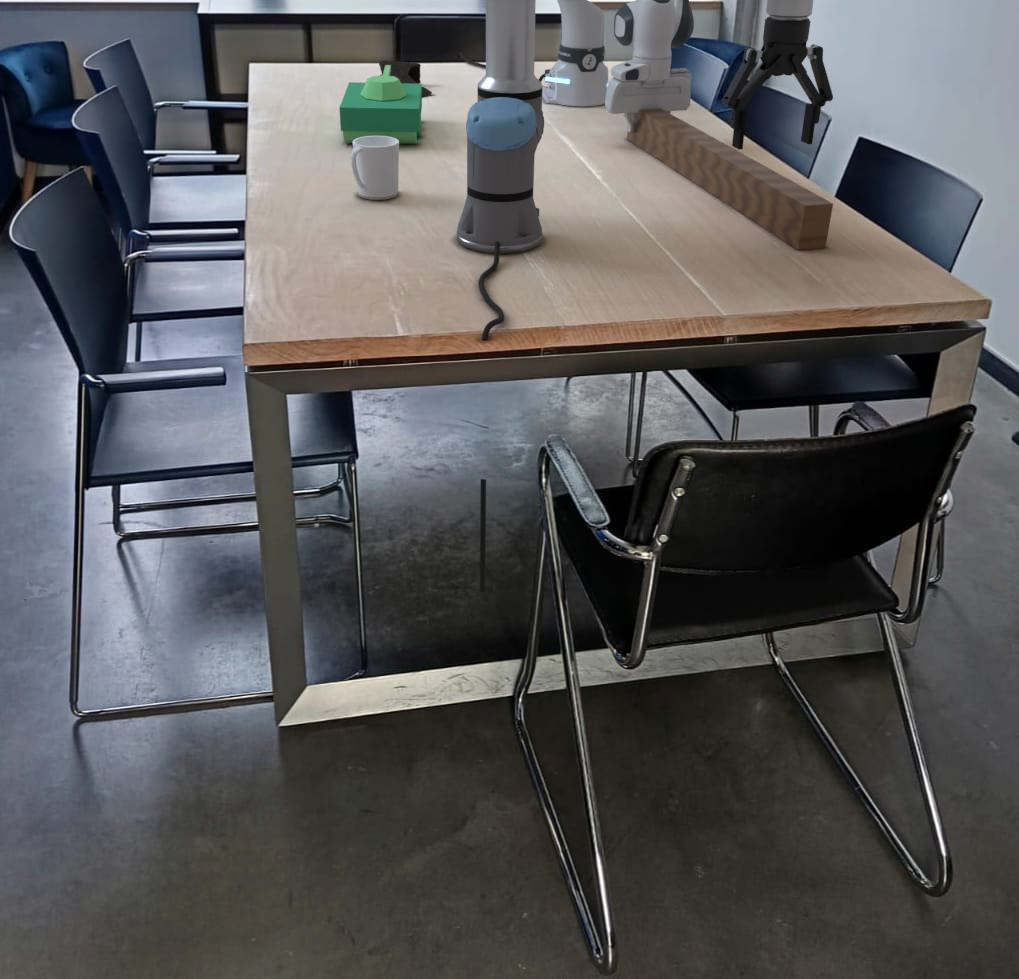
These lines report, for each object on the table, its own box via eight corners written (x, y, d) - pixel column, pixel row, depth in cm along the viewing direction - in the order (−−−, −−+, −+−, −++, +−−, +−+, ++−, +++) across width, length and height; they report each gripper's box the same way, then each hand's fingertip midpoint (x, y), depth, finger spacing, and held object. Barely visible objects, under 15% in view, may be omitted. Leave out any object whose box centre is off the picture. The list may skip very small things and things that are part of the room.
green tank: (422, 61, 273) (418, 91, 243) (422, 112, 279) (419, 147, 249) (350, 60, 272) (338, 90, 242) (353, 111, 278) (341, 146, 248)
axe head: (443, 87, 294) (392, 77, 287) (436, 115, 299) (385, 106, 292) (421, 62, 307) (371, 52, 300) (414, 89, 311) (365, 80, 304)
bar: (825, 247, 196) (833, 203, 192) (797, 250, 195) (805, 205, 190) (648, 137, 262) (651, 103, 257) (626, 139, 260) (629, 104, 256)
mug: (378, 184, 223) (375, 133, 218) (409, 193, 218) (408, 141, 213) (338, 196, 216) (335, 143, 210) (370, 205, 211) (367, 151, 206)
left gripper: (842, 10, 190) (824, 135, 201) (710, 16, 184) (698, 144, 195) (865, 17, 184) (845, 145, 195) (730, 23, 178) (716, 155, 189)
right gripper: (686, 64, 254) (680, 125, 261) (604, 68, 249) (600, 130, 256) (698, 70, 249) (692, 132, 256) (614, 73, 244) (610, 136, 251)
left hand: (772, 145), depth 195 cm, fingers open, 13 cm apart
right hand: (645, 131), depth 256 cm, fingers closed on bar, 6 cm apart
